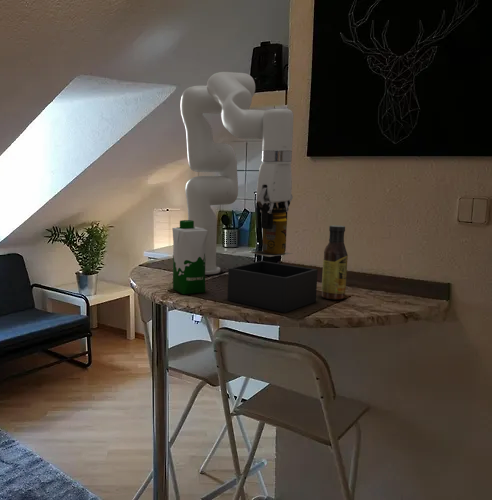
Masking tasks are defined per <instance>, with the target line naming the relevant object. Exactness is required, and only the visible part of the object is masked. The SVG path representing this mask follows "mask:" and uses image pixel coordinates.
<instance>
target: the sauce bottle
mask: <svg viewBox="0 0 492 500" xmlns="http://www.w3.org/2000/svg"><path fill="white" fill-rule="evenodd" d="M328 227H329V237H328V241H329V242H328V243H327V245H326V246H325V248H324V250H323V259H322V272H321V273H322V276H321V297H322V298H323V299H325V300H326V299H327V300H332V301H338V300H343V299H345V295H346V291H347V289H346V288H347V287H346V286H347V277H348V276H347V275H348V274H347V273H348V261H349V260H348V259H349V258H348V257H349V255H348V252H347V249H346V245H345V232H346V226H345V225H339V224H338V225H329V226H328Z"/></svg>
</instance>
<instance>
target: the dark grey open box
mask: <svg viewBox="0 0 492 500" xmlns="http://www.w3.org/2000/svg"><path fill="white" fill-rule="evenodd" d="M318 270H319V269H316V268H310V267H304V266H298V265H292V264H291V265H290V264H284V263H279V262H271V261H266V260H265V261H264V260H258V261H254V262H249V263H245V264H241V265H237V266H233V267H229V268H228V269H227V301H229V302H234V303H238V304H243V305H248V306H252V307H255V308H256V307H257V308H261V309H265V310H270V311H274V312H279V313H284V314H286V313H289V312H291V311H294V310H296V309H300V308H302V307H305V306H307V305H311V304H313V303H316V302H317V291H318V290H317V289H318V272H319V271H318Z"/></svg>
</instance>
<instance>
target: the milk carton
mask: <svg viewBox="0 0 492 500" xmlns="http://www.w3.org/2000/svg"><path fill="white" fill-rule="evenodd" d="M207 234H208V230H205V229H203V228H198V227H194V221H192V220H188V219H184V220H183V219H182V220H181V219H180V220H179V227H178V226H177V227H172V241H173V242H172V244H173V245H172V248H173V249H172V257H173V258H172V290H174V291H176V292H178V293H180V294H181V295H194V294H203V293H206V275H205V261H206V240H207Z"/></svg>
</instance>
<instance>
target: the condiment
mask: <svg viewBox="0 0 492 500" xmlns="http://www.w3.org/2000/svg"><path fill="white" fill-rule="evenodd" d="M271 214H273V228H272V229H264V228H262V246H261V247H262V248H261V250H257V251H250V254H251V253H252V254H255V255H258V256H261V257H263V256H264V257H268V258H271V257H278V256H287V255H292V254H293V253H292V252H286V251H287V249H286V248H287V231H288V230H287V228H288V218H287V219H286V209H284V208H277V207H273V209H272V213H271Z"/></svg>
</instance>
